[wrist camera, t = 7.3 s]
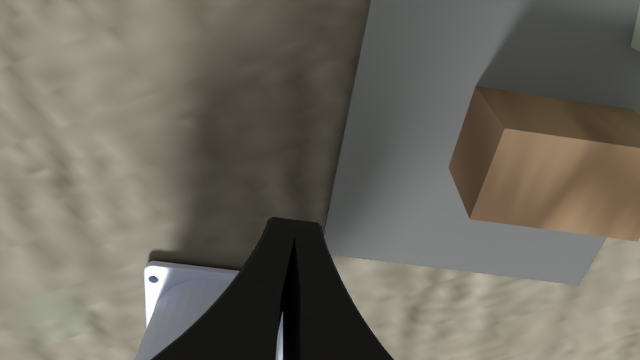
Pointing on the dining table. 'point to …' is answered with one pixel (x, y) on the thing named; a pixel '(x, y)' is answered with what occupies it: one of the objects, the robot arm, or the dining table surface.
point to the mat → (447, 119)
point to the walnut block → (549, 164)
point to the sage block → (636, 34)
